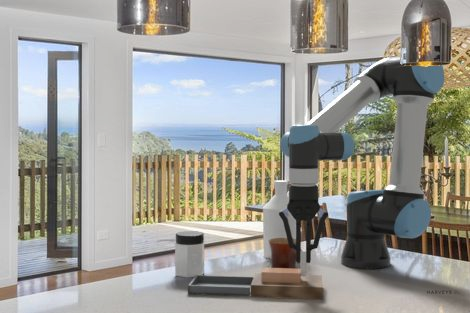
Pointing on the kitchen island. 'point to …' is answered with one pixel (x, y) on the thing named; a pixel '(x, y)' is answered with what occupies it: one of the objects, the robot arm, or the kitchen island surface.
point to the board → (288, 288)
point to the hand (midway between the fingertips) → (303, 275)
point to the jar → (189, 254)
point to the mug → (282, 254)
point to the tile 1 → (271, 275)
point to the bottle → (276, 217)
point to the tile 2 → (290, 275)
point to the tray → (220, 285)
